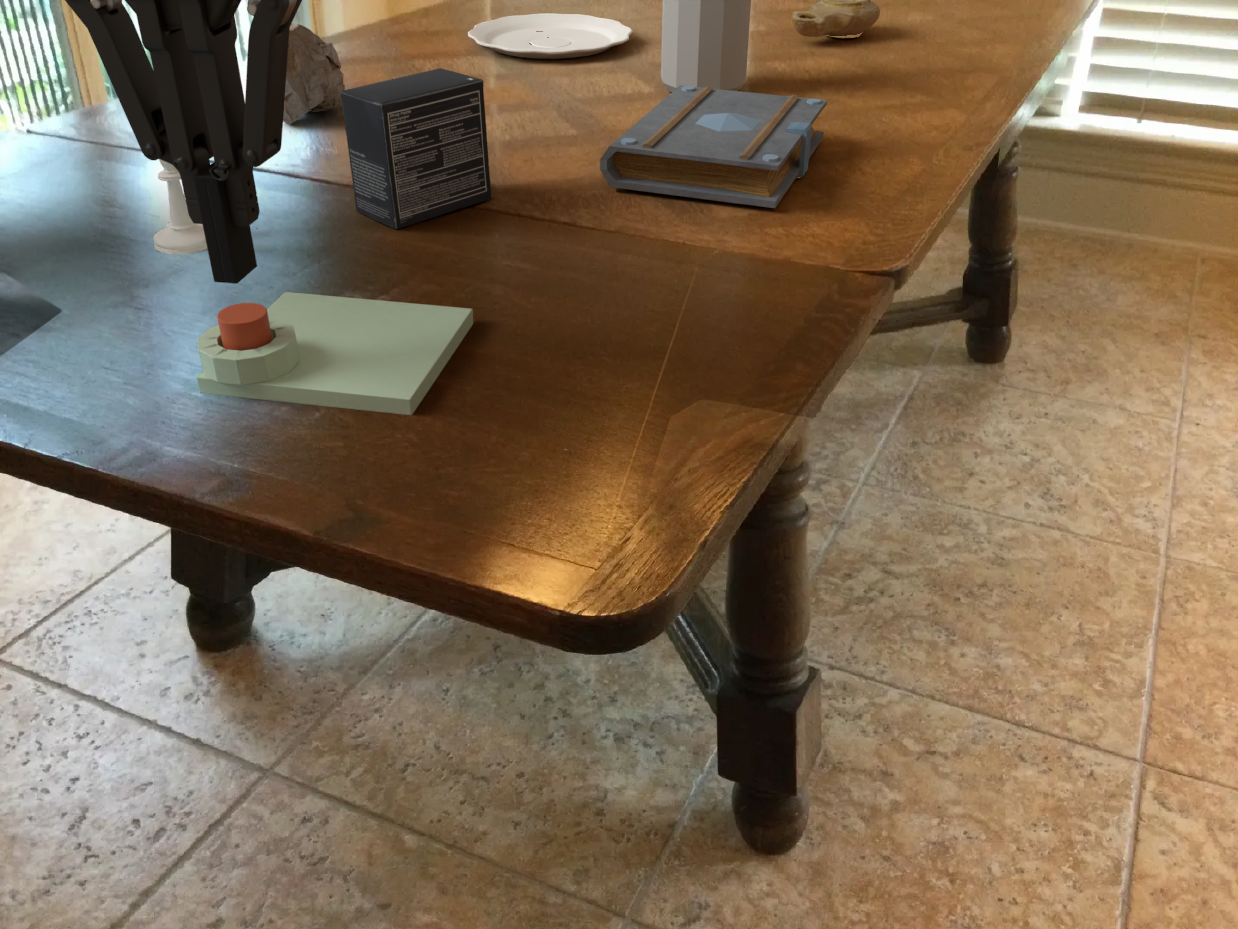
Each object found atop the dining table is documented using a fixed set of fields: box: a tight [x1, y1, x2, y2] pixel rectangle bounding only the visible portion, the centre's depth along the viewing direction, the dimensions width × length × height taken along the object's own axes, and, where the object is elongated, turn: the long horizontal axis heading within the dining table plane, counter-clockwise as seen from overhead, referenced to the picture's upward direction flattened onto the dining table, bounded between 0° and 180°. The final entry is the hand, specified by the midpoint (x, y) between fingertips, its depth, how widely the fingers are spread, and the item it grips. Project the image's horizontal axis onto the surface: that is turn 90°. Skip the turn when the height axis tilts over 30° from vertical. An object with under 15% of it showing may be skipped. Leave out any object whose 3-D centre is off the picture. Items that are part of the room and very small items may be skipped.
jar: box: [660, 0, 752, 93], centre depth 127 cm, size 10×10×18 cm
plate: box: [467, 12, 633, 60], centre depth 149 cm, size 21×21×2 cm
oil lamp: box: [791, 0, 881, 38], centre depth 152 cm, size 11×14×5 cm
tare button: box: [216, 302, 272, 351], centre depth 72 cm, size 3×3×2 cm
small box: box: [340, 67, 493, 230], centre depth 98 cm, size 11×6×10 cm, turn 135°
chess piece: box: [152, 159, 208, 255], centre depth 91 cm, size 5×5×10 cm
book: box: [599, 85, 828, 209], centre depth 109 cm, size 21×16×5 cm
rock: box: [283, 22, 346, 126], centre depth 120 cm, size 9×12×10 cm
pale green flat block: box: [196, 291, 474, 416], centre depth 76 cm, size 14×13×3 cm
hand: (235, 273), depth 70 cm, fingers closed
